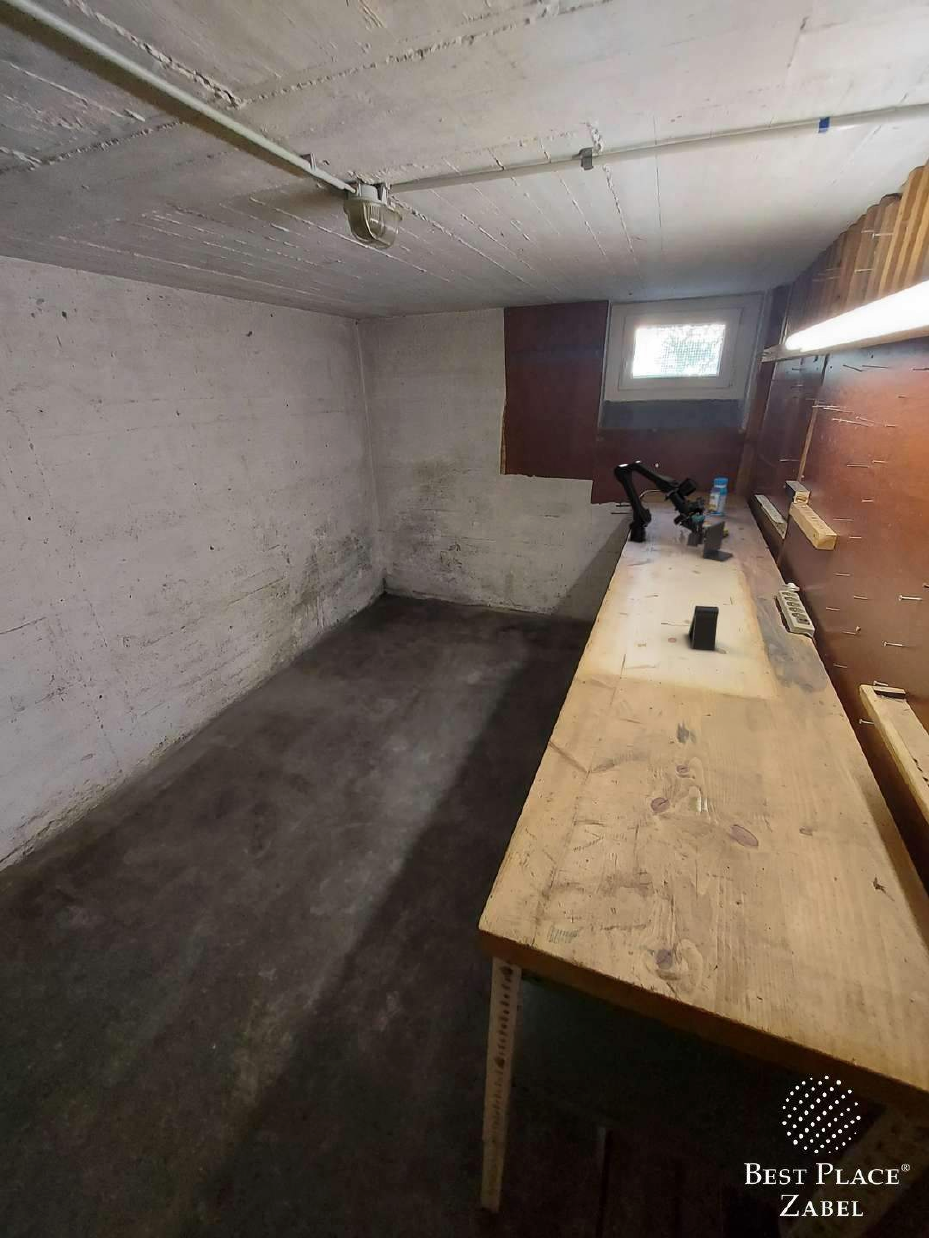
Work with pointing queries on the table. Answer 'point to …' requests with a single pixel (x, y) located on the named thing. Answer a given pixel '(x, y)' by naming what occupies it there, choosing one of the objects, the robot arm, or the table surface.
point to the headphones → (699, 535)
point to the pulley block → (712, 524)
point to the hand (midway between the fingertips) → (700, 530)
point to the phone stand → (703, 627)
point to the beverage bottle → (718, 497)
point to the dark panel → (715, 542)
